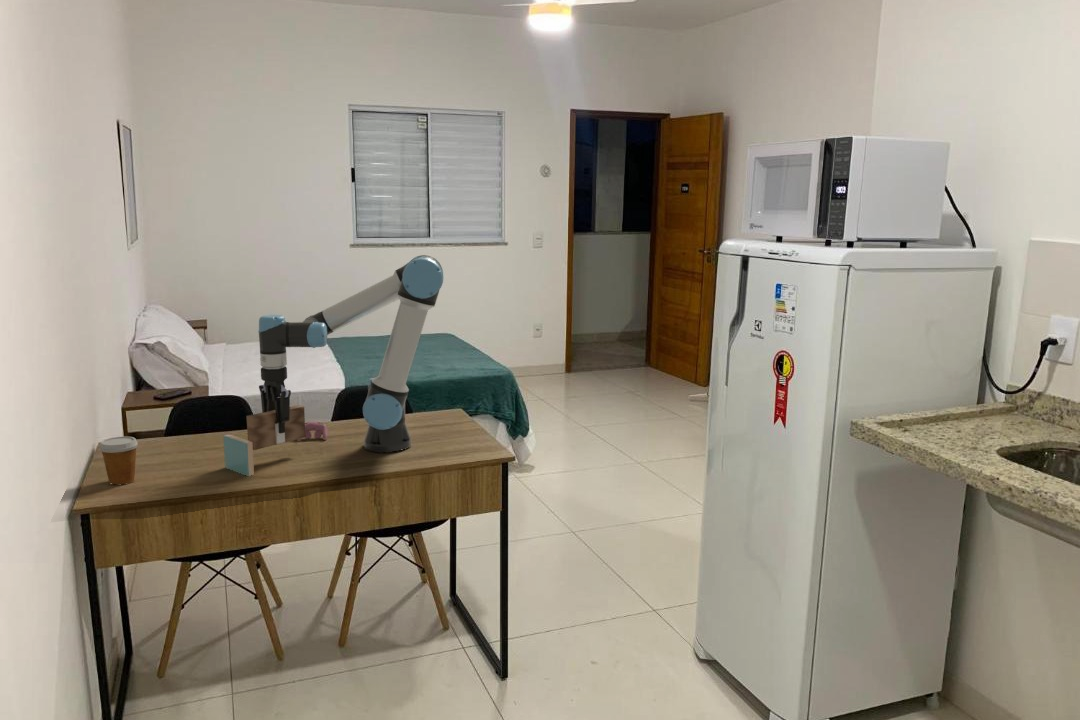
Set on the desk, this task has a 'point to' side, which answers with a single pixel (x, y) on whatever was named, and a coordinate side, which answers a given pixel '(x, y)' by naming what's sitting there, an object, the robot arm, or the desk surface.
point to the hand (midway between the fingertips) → (277, 441)
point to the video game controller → (317, 427)
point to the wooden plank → (264, 427)
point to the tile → (238, 455)
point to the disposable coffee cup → (119, 459)
